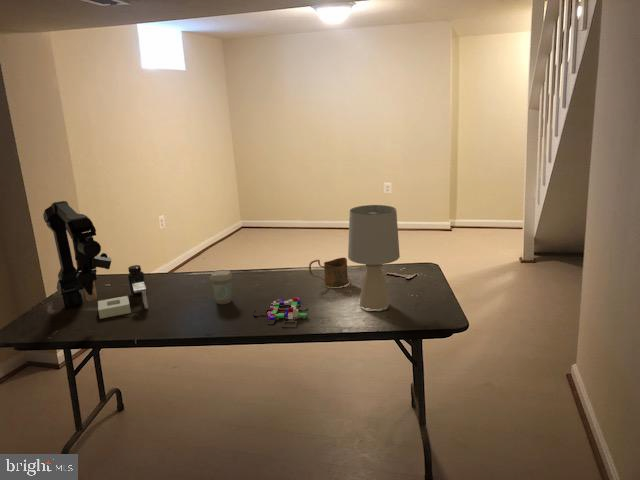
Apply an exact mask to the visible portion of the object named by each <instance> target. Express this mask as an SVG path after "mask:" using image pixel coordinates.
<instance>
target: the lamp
mask: <svg viewBox="0 0 640 480" xmlns="http://www.w3.org/2000/svg"><path fill="white" fill-rule="evenodd" d="M348 222H349V223H348V245H347V246H348V249H347V258H348V260H349V261H351V262H353V263H356V264H361V265H365V268H366V271H365V274H364V276H363V279H362V283H361V289H360V295H359V299H360V300H359V306H360V305H361V306H362V307H364V308H370V309H380V308H384V307H387V306H388V305H389V304H390V296H389V291H388V284H387V280H386V277H385V274H384V272H383V271H382V269H381V268H382V266H383V265H386V264H387V265H388V264H390V263H393V262H396V261H398V260H399V259H400V257H401V256H400V244H399V243H400V242H399V241H400V240H399V228H398V214H397V208H396V207H394V206H390V205H382V204H368V205H359V206H355V207H352V208H350V210H349V219H348Z"/></svg>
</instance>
